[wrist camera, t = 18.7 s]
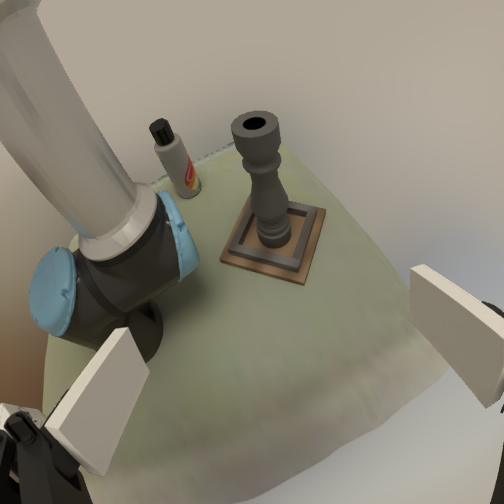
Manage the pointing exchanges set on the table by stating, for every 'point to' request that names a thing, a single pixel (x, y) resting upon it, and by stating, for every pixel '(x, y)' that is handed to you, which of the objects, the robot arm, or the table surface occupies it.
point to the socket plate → (280, 259)
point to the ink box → (6, 410)
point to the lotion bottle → (175, 159)
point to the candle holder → (264, 175)
